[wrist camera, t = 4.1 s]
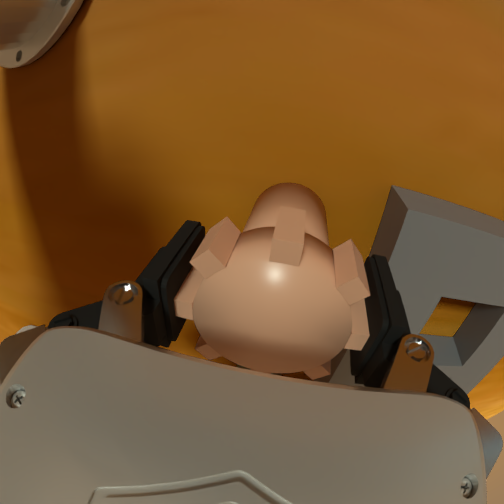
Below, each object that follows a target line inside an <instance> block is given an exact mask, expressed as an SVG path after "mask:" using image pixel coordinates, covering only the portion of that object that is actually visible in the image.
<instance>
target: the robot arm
mask: <svg viewBox="0 0 504 504" xmlns="http://www.w3.org/2000/svg"><path fill="white" fill-rule="evenodd" d="M83 1H84V0H0V66H2V67H4V68H16V67H22V66H25V65H28V64H30V63H32V62H33V61H35V60H37V59H38V58H40V57H41V56H42V55H43V54H44V53H45V52H47V51H48V50H49V49H50V48H51V47H52V45H53V44H54V43H55V42H56V41H57V40H58V39H59V38H60V36H61V35H62V34H63V32H64V31H65V29H66V28H67V27H68V25H69V24H70V23H71V21H72V19H73V18H74V16H75V15H76V13H77V11H78V10H79V8H80V6H81V5H82V3H83ZM204 238H205V227H204V226H201V223H200V222H196V221H190V220H187V221H186V222H185V223H184V224H183V226H182V227H181V228H180V229H179V230H178V232H177V233H176V234H175V235H174V237H173V238H172V239H171V241H170V242H169V243H168V244H167V246H166V247H162V248H161V249H160V250H159V251H158V252H157V254H156V255H155V256H154V258H153V259H152V260H151V261H150V263H149V264H148V265H147V267H146V268H145V269H144V270H143V272H142V273H141V274H140V276H139V277H138V278H137V280H136V281H135V282H133V281H129V280H123V281H118V282H116V283H113V284H112V285H110V286H109V287H108V288H107V289H106V291H105V293H104V297H103V300H102V301H99V302H96V303H93V304H89V305H86V306H83V307H80V308H76V309H73V310H70V311H67V312H63V313H61V314H59V315H57V316H55V317H54V318H53V319H52V320H51V322H50V323H49V326H48V327H45V325H41V326H38V327H35V328H32V329H30V330H27V331H24V332H21V333H18V334H15V335H12V336H9V337H7V338H6V339H4V340H3V341H2V342H1V344H0V382H1V386H0V504H487V493H486V492H487V491H486V479H487V477H488V475H489V473H490V472H491V470H492V468H493V466H494V464H495V462H496V460H497V458H498V457H499V454H500V452H501V450H502V447H503V441H502V437H501V435H500V434H499V432H498V431H497V430H496V429H495V428H494V427H493V426H492V425H491V424H490V423H489V422H488V421H487V420H486V419H485V418H484V417H483V416H482V415H481V414H480V413H479V412H478V411H477V410H476V409H475V408H473V409H472V410H471V409H470V401H469V398H468V396H467V394H466V393H465V392H464V390H463V389H462V388H460V387H459V386H458V385H457V384H456V383H455V382H454V381H452V380H451V379H450V378H449V377H448V376H447V375H446V374H445V373H443V372H442V371H441V370H440V369H439V368H438V367H436V366H435V365H434V364H433V360H434V350H433V347H432V346H431V344H430V343H429V342H428V341H427V340H426V339H425V338H423V337H422V336H419V335H416V334H411V331H410V327H409V324H408V320H407V316H406V312H405V309H404V305H403V302H402V298H401V295H400V292H399V291H398V290H396V286H395V283H394V280H393V276H392V273H391V270H390V267H389V264H388V261H387V258H386V257H385V256H380V255H375V254H373V255H372V256H371V257H367V259H366V261H365V264H364V267H365V272H366V276H367V281H368V286H369V291H370V296H368V297H366V298H364V300H365V306H366V313H367V320H368V327H369V335H370V336H369V338H368V339H367V341H366V343H365V345H364V346H363V348H362V350H361V351H360V350H352V349H350V368H351V375H352V376H355V384H364V386H365V387H361V386H351V385H341V384H333V383H325V382H318V381H310V380H304V379H297V378H291V377H285V376H279V375H273V374H268V373H263V372H257V371H252V370H248V369H243V368H238V367H233V366H229V365H225V364H220V363H216V362H212V361H208V360H204V359H200V358H196V357H192V356H188V355H184V354H181V353H177V352H173V351H170V350H167V349H163V348H160V347H158V346H160V345H161V346H164V347H169V345H170V343H171V341H176V340H177V338H178V336H179V333H180V331H181V329H182V327H183V325H184V323H185V321H186V318H182V317H178V316H176V315H175V306H174V298H175V296H176V294H177V293H178V291H179V289H180V287H181V286H182V284H183V282H184V280H185V279H186V277H187V275H188V274H189V272H190V270H191V268H192V267H193V265H192V264H191V263H190V260H191V259H192V257H193V256H194V254H195V252H196V251H197V249H198V247H199V246H200V244H201V243H202V241H203V239H204Z"/></svg>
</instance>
